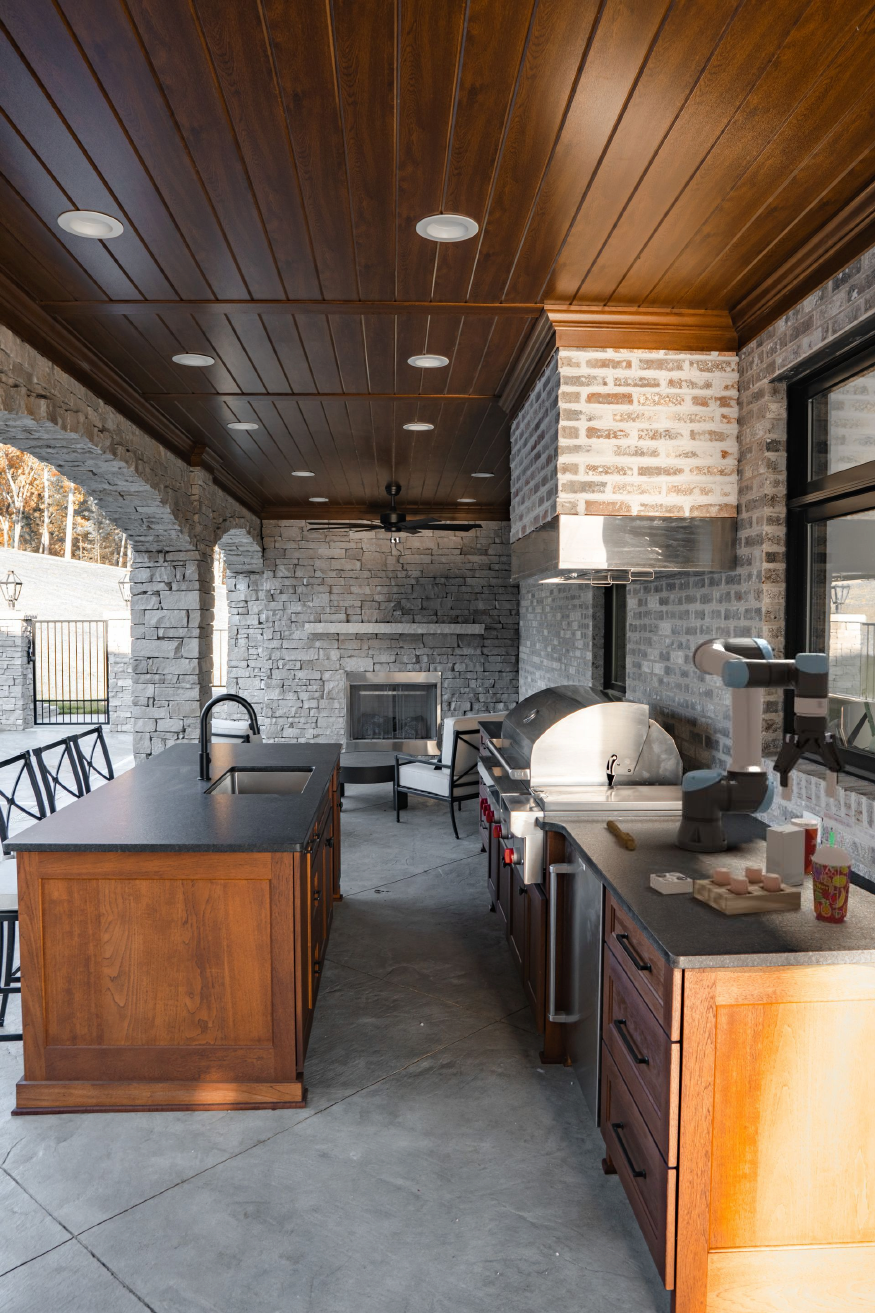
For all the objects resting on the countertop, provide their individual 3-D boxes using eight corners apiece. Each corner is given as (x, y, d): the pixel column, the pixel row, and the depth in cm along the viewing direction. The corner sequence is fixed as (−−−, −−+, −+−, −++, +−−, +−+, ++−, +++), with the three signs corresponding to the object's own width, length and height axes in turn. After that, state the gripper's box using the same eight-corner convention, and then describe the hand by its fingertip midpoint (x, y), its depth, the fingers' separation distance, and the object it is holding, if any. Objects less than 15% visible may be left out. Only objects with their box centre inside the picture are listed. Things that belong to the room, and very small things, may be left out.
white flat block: (650, 886, 212) (650, 873, 212) (677, 884, 214) (677, 871, 214) (664, 894, 205) (664, 881, 205) (692, 892, 207) (692, 879, 207)
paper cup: (821, 875, 223) (822, 824, 222) (791, 873, 224) (792, 823, 224) (814, 867, 230) (815, 818, 230) (785, 866, 232) (786, 817, 231)
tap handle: (614, 819, 277) (637, 841, 247) (614, 828, 277) (637, 852, 247) (605, 819, 277) (627, 841, 247) (605, 828, 277) (627, 852, 247)
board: (694, 896, 204) (694, 880, 204) (763, 890, 209) (763, 875, 209) (727, 914, 190) (727, 897, 190) (800, 908, 195) (801, 891, 195)
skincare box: (786, 878, 220) (787, 823, 219) (805, 884, 214) (806, 828, 214) (764, 882, 216) (765, 826, 216) (782, 888, 211) (783, 831, 210)
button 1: (710, 882, 203) (710, 868, 203) (724, 881, 204) (724, 867, 204) (719, 887, 199) (719, 872, 199) (733, 886, 200) (734, 871, 200)
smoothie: (803, 913, 192) (804, 828, 191) (837, 912, 192) (838, 828, 192) (822, 926, 183) (824, 837, 183) (858, 925, 184) (860, 837, 184)
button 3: (741, 880, 205) (741, 865, 205) (755, 879, 206) (755, 864, 206) (751, 885, 201) (751, 870, 201) (765, 884, 203) (765, 869, 202)
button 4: (759, 888, 199) (759, 873, 198) (773, 887, 200) (773, 872, 200) (769, 893, 195) (770, 878, 195) (784, 892, 196) (784, 877, 196)
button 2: (726, 891, 196) (727, 876, 196) (741, 890, 197) (741, 874, 197) (737, 896, 192) (737, 880, 192) (751, 895, 193) (752, 879, 193)
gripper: (779, 717, 198) (778, 804, 198) (862, 715, 205) (860, 799, 205) (758, 714, 205) (757, 798, 205) (839, 712, 212) (837, 793, 213)
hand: (808, 799), depth 205 cm, fingers open, 13 cm apart
